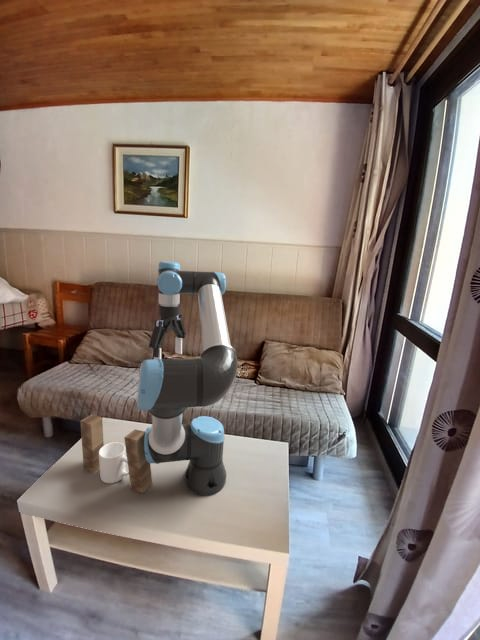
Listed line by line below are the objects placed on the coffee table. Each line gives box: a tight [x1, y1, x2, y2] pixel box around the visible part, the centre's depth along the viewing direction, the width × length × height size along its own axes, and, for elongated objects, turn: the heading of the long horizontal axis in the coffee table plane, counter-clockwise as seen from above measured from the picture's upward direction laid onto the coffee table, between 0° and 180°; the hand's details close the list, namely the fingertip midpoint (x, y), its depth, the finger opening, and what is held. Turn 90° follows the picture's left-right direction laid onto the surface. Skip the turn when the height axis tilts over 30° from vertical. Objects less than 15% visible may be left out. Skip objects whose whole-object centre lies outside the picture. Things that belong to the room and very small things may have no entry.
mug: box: [99, 441, 129, 484], centre depth 109 cm, size 9×12×11 cm
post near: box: [123, 429, 153, 494], centre depth 105 cm, size 5×5×20 cm
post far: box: [79, 413, 105, 474], centre depth 112 cm, size 5×5×20 cm
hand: (168, 358), depth 117 cm, fingers open, 13 cm apart
